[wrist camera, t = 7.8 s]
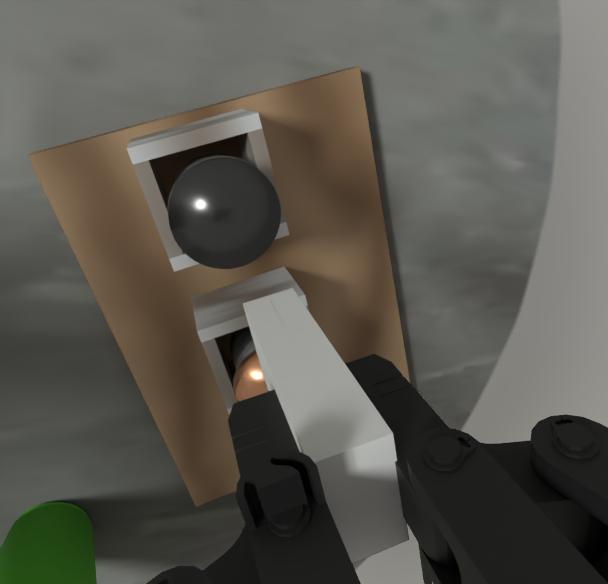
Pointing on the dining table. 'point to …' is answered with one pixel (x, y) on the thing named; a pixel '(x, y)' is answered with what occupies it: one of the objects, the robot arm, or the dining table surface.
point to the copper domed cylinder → (246, 366)
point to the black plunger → (223, 211)
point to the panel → (238, 281)
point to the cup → (49, 547)
